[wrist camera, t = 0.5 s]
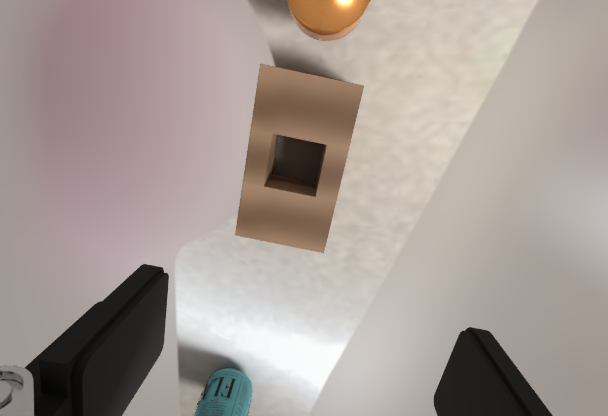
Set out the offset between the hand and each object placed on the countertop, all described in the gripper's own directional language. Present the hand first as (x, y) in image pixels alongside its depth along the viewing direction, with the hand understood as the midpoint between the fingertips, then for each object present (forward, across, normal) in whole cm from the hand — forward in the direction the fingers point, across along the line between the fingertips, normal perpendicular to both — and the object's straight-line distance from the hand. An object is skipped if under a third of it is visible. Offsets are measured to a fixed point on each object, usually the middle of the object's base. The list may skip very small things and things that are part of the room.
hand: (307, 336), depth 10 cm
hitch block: (+28, +2, -1) cm, 28 cm away
